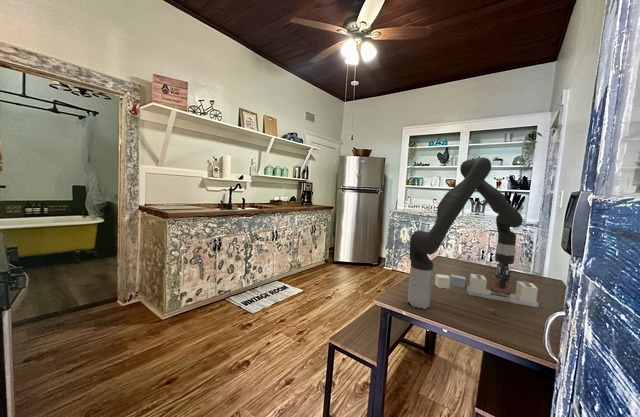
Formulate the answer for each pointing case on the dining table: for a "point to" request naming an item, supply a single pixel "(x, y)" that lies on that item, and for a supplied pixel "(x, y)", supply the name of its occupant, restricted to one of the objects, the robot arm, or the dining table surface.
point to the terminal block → (457, 281)
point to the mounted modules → (523, 289)
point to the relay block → (442, 281)
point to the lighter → (496, 285)
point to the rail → (502, 297)
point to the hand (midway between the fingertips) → (501, 286)
